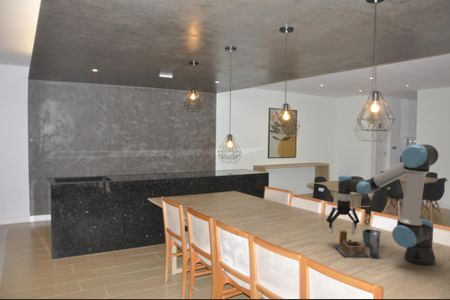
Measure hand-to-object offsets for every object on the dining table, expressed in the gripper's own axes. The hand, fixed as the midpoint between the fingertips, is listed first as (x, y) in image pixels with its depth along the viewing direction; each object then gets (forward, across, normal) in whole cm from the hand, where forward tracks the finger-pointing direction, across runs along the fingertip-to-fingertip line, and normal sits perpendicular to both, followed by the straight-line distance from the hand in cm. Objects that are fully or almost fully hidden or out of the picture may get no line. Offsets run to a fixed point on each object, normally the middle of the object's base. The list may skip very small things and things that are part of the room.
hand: (342, 233), depth 214 cm
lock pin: (+7, 0, +9) cm, 12 cm away
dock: (+7, 0, +13) cm, 15 cm away
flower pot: (+7, -18, +1) cm, 20 cm away
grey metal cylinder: (+7, -11, +21) cm, 24 cm away
